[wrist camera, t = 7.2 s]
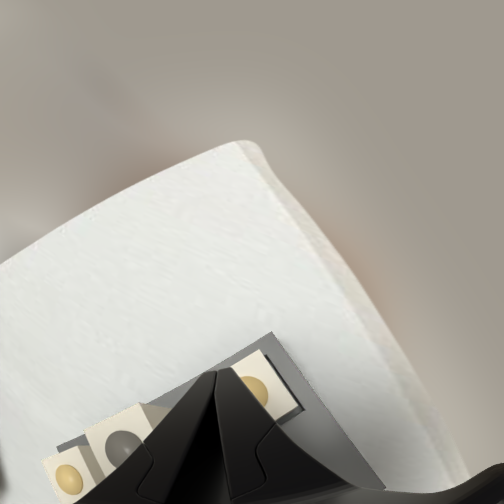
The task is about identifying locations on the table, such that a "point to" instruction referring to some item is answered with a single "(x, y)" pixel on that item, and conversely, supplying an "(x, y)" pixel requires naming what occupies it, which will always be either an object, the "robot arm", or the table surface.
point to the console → (291, 417)
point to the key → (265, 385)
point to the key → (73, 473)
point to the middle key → (123, 434)
